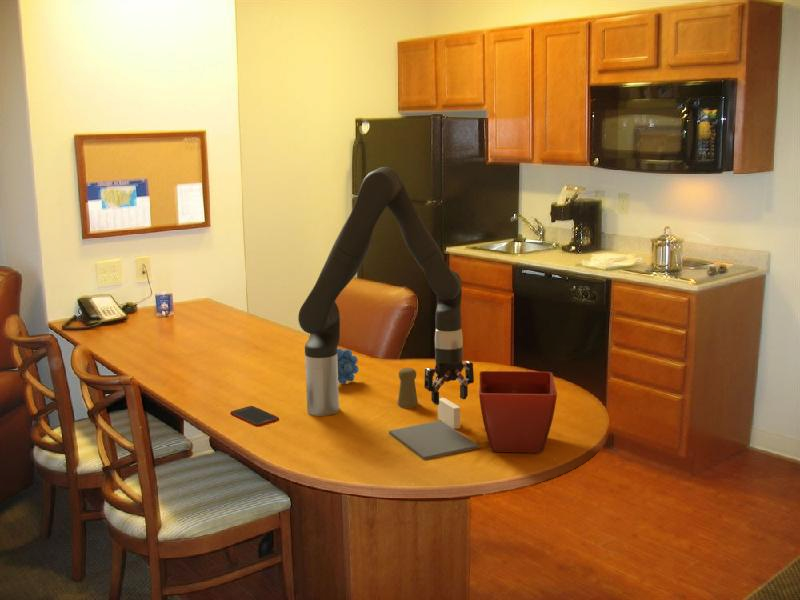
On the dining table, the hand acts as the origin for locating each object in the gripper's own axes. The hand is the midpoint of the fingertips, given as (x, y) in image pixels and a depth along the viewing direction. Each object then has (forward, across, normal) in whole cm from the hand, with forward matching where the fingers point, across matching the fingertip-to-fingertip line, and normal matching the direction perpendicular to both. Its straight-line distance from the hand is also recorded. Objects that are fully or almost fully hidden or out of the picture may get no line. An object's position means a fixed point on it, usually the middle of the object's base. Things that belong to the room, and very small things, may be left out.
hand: (449, 401), depth 236 cm
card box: (+7, 0, 0) cm, 7 cm away
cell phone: (+6, +46, -31) cm, 56 cm away
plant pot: (+7, -8, +20) cm, 23 cm away
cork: (+6, +3, -20) cm, 21 cm away
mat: (+6, +10, +9) cm, 15 cm away
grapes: (+6, +12, -45) cm, 47 cm away
